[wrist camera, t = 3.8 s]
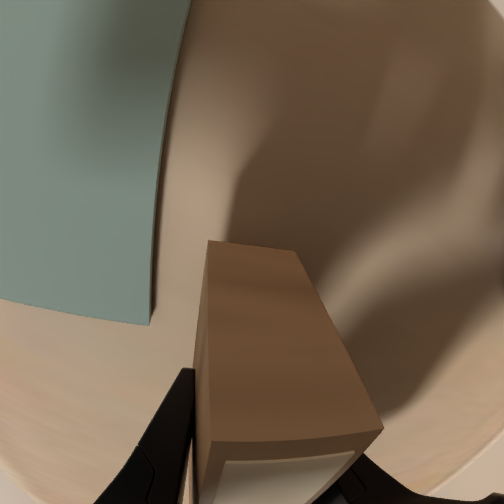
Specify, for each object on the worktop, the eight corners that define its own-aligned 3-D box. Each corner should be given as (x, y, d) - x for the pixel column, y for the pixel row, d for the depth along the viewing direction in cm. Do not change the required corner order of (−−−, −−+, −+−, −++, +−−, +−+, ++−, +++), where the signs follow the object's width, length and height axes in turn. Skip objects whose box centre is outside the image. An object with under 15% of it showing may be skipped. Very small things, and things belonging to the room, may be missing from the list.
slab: (246, 414, 12) (265, 540, 7) (188, 411, 12) (191, 542, 7) (294, 250, 9) (385, 430, 4) (208, 240, 9) (212, 444, 3)
